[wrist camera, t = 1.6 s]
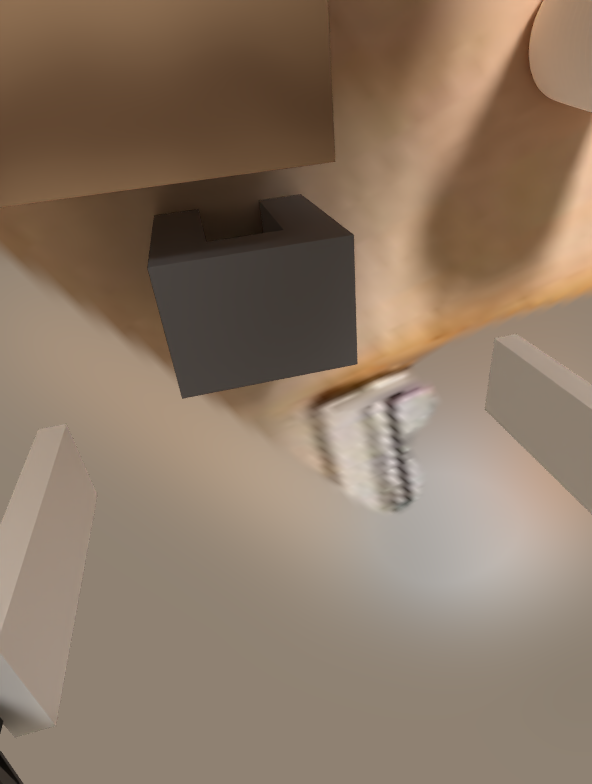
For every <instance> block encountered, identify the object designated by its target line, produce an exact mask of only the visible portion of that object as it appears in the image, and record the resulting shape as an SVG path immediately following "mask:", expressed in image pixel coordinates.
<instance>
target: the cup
mask: <svg viewBox="0 0 592 784" xmlns="http://www.w3.org/2000/svg"><path fill="white" fill-rule="evenodd" d="M529 63H530V70H531V73H532V76H533V79H534V82H535V83H536V85H537V86H538V88H539V90H540V91H541V92H542V93H543V94H544V95H545V96H547V97H548V98H550V99H552V100H554V101H557V102H560V103H563V104H566V105H569V106H572V107H575V108H579V109H582V110H585V111H588V112H591V113H592V0H543V2H542V4H541V6H540V8H539V11H538V13H537V15H536V17H535V21H534V24H533V27H532V31H531V36H530V43H529Z"/></svg>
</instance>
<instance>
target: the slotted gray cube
mask: <svg viewBox="0 0 592 784" xmlns="http://www.w3.org/2000/svg"><path fill="white" fill-rule="evenodd" d="M259 203H260V211H261V219H262V226H263V233H260V234H254V235H248V236H241V237H235V238H228V239H222V240H215V241H209V242H206V239H205V235H204V230H203V226H202V222H201V218H200V214H199V210H198V209H197V210H190V211H183V212H176V213H169V214H163V215H156V216H154V220H153V227H152V235H151V243H150V251H149V259H148V267H147V268H148V272H149V276H150V279H151V283H152V287H153V291H154V294H155V298H156V302H157V306H158V309H159V313H160V317H161V321H162V324H163V328H164V332H165V336H166V339H167V343H168V347H169V351H170V354H171V358H172V362H173V366H174V369H175V373H176V377H177V381H178V384H179V388H180V392H181V396H182V398H187V397H193V396H198V395H203V394H208V393H213V392H218V391H223V390H228V389H233V388H239V387H244V386H249V385H254V384H259V383H264V382H269V381H274V380H279V379H284V378H289V377H294V376H300V375H305V374H310V373H315V372H320V371H325V370H330V369H335V368H340V367H345V366H350V365H355V364H357V333H356V298H355V264H354V235H353V234H352V233H351V232H349V231H348V230H347V229H345V228H344V227H343V226H341V225H340V224H339V223H338V222H336V221H335V220H334V219H332V218H331V217H330V216H328V215H327V214H326V213H324V212H323V211H322V210H321V209H319V208H318V207H317V206H315V205H314V204H313V203H311V202H310V201H309V200H308V199H306V198H305V197H304V196H302V195H301V194H300V195H293V196H287V197H280V198H273V199H266V200H259Z"/></svg>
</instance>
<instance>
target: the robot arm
mask: <svg viewBox="0 0 592 784" xmlns="http://www.w3.org/2000/svg"><path fill="white" fill-rule="evenodd" d="M485 410H486V411H487V412H488V413H489V414H490V415H491V416H492V417H493V418H494V419H495V420H496V421H497V422H498V423H499V424H500V425H501V426H502V427H503V428H504V429H505V430H506V431H507V432H508V433H509V434H510V435H511V436H512V437H513V438H514V439H515V440H516V441H517V442H518V443H520V444H521V446H523V447H524V448H525V449H526V450H527V451H528V452H529V453H530V454H531V455H532V456H533V457H534V458H535V459H536V460H537V461H538V462H539V463H540V464H541V465H542V466H543V467H544V468H545V469H546V470H547V471H548V472H549V473H550V474H551V475H552V476H553V477H554V478H555V479H556V480H557V481H558V482H559V483H560V484H561V485H562V486H563V487H564V488H565V489H566V490H567V491H568V492H570V493H571V494H572V495H573V496H574V497H575V498H576V499H577V500H578V501H579V502H580V503H581V504H582V505H583V506H584V507H585V508H586V509H587V510H588V511H589V512H590V513H591V514H592V384H590V383H589V382H587V381H586V380H584V379H583V378H581V377H580V376H578V375H577V374H575V373H574V372H572V371H571V370H569V369H568V368H566V367H565V366H563V365H562V364H560V363H559V362H557V361H556V360H554V359H553V358H551V357H550V356H549V355H547V354H546V353H544V352H543V351H541V350H540V349H538V348H537V347H535V346H534V345H532V344H531V343H529V342H528V341H526V340H525V339H523V338H522V337H520V336H519V335H517V334H513V335H508V336H503V337H498V338H494V345H493V353H492V360H491V367H490V374H489V382H488V389H487V396H486V403H485ZM96 501H97V493H96V490H95V488H94V486H93V483H92V481H91V479H90V476H89V474H88V472H87V469H86V467H85V465H84V463H83V460H82V458H81V456H80V453H79V451H78V449H77V446H76V444H75V442H74V440H73V437H72V435H71V433H70V431H69V428H68V426H67V424H62V425H57V426H52V427H47V428H42V429H38V431H37V433H36V436H35V438H34V441H33V443H32V446H31V448H30V451H29V453H28V456H27V459H26V461H25V464H24V466H23V469H22V471H21V474H20V476H19V479H18V481H17V484H16V486H15V489H14V491H13V494H12V496H11V499H10V501H9V504H8V507H7V509H6V511H5V514H4V516H3V519H2V521H1V525H0V732H1V728H2V725H3V724H4V725H5V726H6V728H7V729H8V730H9V731H10V732H11V733H12V735H13V736H14V737H18V736H22V735H26V734H29V733H32V732H36V731H40V730H43V729H47V728H50V727H54V726H56V723H57V718H58V712H59V706H60V701H61V695H62V690H63V684H64V679H65V673H66V668H67V662H68V656H69V651H70V645H71V640H72V634H73V629H74V623H75V618H76V612H77V606H78V601H79V595H80V590H81V584H82V579H83V573H84V568H85V562H86V556H87V551H88V545H89V540H90V534H91V529H92V523H93V517H94V512H95V506H96ZM0 784H23V782H22V781H21V779H20V778H19V777H18V775H17V774H16V772H15V771H14V769H13V768H12V766H11V765H10V764H9V762H8V761H7V759H6V758H5V756H4V755H3V753H2V752H1V751H0Z"/></svg>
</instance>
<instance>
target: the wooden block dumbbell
mask: <svg viewBox="0 0 592 784" xmlns="http://www.w3.org/2000/svg"><path fill="white" fill-rule="evenodd" d="M329 162H335V145H334V123H333V101H332V79H331V57H330V35H329V13H328V0H0V208H1V207H9V206H16V205H23V204H30V203H38V202H45V201H52V200H60V199H67V198H74V197H82V196H89V195H96V194H103V193H111V192H118V191H125V190H133V189H140V188H147V187H154V186H162V185H169V184H176V183H184V182H191V181H198V180H205V179H213V178H220V177H227V176H235V175H242V174H249V173H257V172H264V171H271V170H278V169H286V168H293V167H300V166H308V165H315V164H322V163H329Z"/></svg>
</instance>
